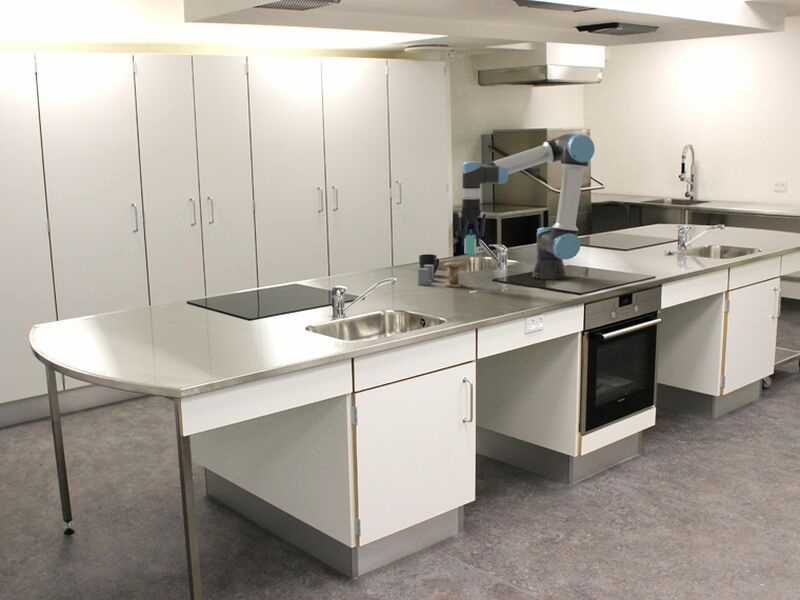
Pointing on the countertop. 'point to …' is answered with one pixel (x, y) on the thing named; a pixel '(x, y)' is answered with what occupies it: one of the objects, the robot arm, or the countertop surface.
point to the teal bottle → (470, 243)
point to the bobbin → (453, 274)
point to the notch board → (426, 275)
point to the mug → (429, 261)
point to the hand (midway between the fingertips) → (470, 253)
